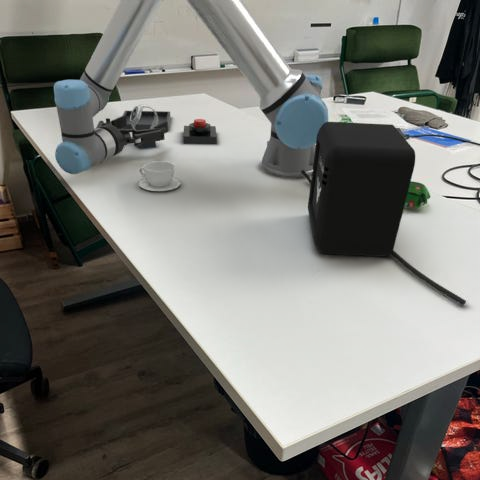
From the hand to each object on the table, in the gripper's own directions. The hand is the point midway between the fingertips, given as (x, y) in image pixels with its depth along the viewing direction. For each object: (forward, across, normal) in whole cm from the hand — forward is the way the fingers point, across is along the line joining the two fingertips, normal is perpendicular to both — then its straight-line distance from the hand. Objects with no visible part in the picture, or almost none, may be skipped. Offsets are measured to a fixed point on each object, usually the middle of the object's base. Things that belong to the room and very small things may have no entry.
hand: (145, 123), depth 138 cm
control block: (+13, +11, -6) cm, 18 cm away
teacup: (-28, +19, -6) cm, 34 cm away
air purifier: (-36, +66, -6) cm, 75 cm away
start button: (+13, +11, -2) cm, 17 cm away
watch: (-1, 0, -6) cm, 6 cm away
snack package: (-14, +73, -6) cm, 75 cm away
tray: (+20, -12, -6) cm, 24 cm away
